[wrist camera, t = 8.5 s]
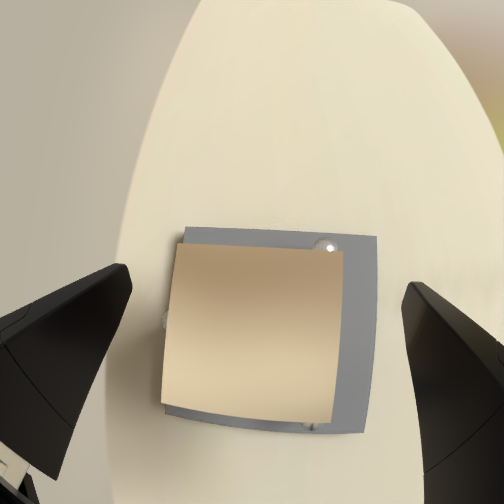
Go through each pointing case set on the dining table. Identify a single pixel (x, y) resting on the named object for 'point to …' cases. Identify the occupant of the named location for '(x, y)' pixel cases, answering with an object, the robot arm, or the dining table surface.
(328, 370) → the maple block
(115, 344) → the dining table surface
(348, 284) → the plate
